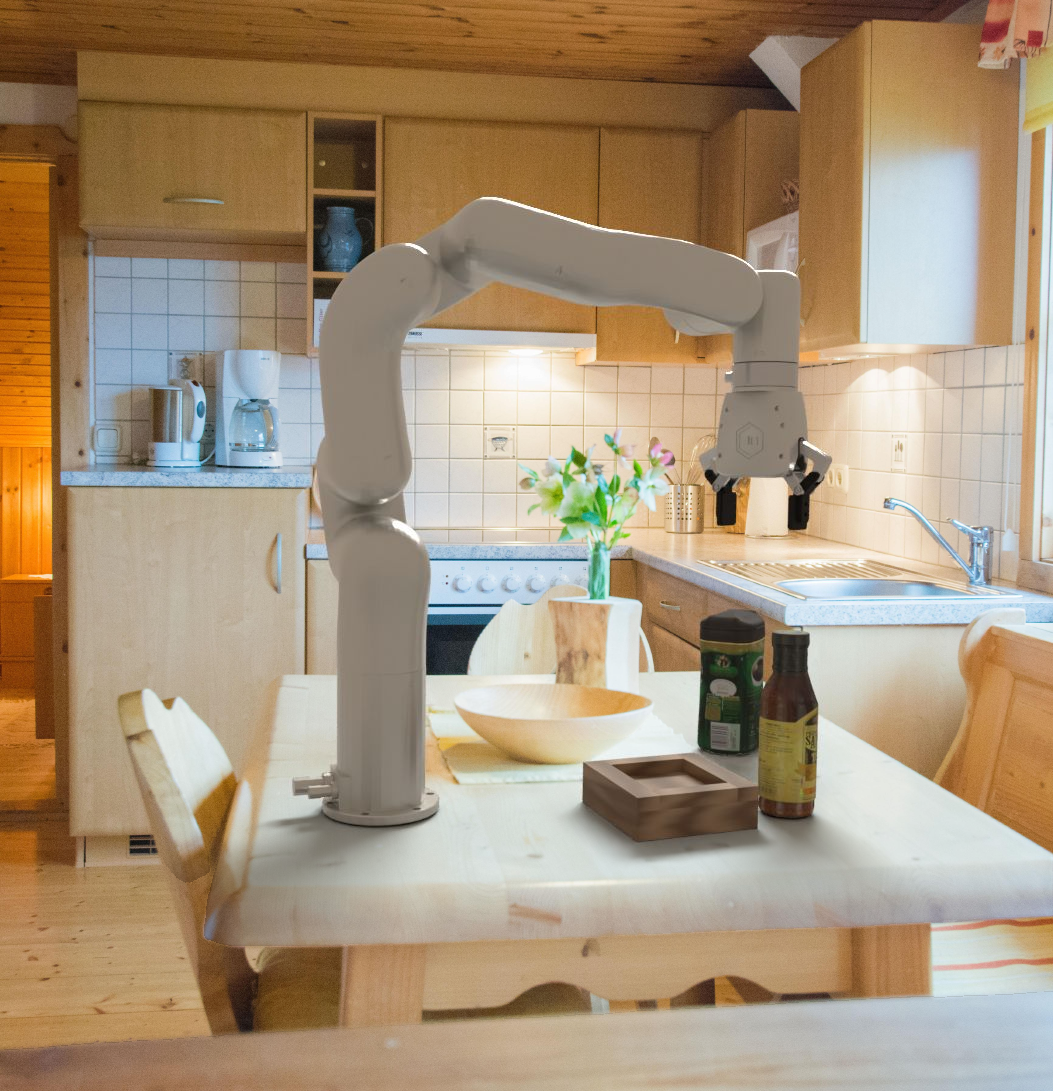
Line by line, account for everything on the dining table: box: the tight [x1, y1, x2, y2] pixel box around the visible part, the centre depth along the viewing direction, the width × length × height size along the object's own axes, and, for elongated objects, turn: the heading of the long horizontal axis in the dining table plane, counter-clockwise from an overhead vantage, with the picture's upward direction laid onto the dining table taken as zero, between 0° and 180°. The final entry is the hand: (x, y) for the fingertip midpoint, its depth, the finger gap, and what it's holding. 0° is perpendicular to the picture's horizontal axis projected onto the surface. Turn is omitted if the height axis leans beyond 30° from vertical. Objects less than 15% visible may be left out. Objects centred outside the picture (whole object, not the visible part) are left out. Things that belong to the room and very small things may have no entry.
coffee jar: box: [696, 608, 766, 756], centre depth 151 cm, size 10×8×19 cm
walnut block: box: [581, 752, 759, 843], centre depth 123 cm, size 14×14×4 cm
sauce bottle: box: [757, 629, 819, 819], centre depth 124 cm, size 7×6×20 cm
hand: (760, 527), depth 133 cm, fingers open, 9 cm apart
